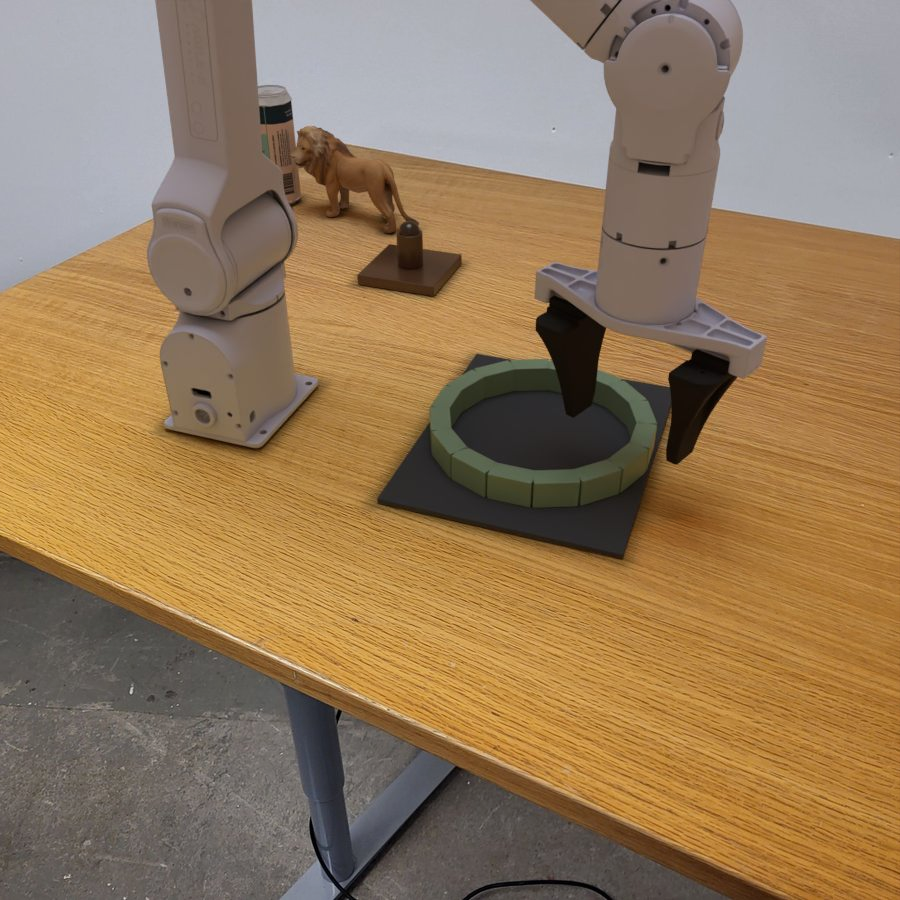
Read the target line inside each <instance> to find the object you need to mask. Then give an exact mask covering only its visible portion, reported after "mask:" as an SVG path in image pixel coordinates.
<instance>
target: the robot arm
mask: <svg viewBox="0 0 900 900" xmlns="http://www.w3.org/2000/svg"><path fill="white" fill-rule="evenodd" d="M529 1H530V3H532V4H533V5H534V6H536V8H537V9H538V10H539V11H541V13H543V14H544V15H545V16H546V17H547V18H548V19H549V20H550V21H551V23H553V24H554V25H555V26H556V27H557V28H558V29H559V30H560V31H561V32H563V33H564V34H565V35H566V36H567V37H568V38H569V39H570V40H571V41H572V42H573V43H574V44H575V45H576V46H577V47H578V48H579V49H580V50H581V51H583V53H585V55H587V56H588V57H589V58H590V59H591V60H595V61H598V62H600V63H601V64H603V81H604V85H605V88H606V92H607V94H608V97H609V99H610V101H611V103H612V104H613V106H614V107H615V115H614V126H613V137H612V141H611V142H610V145H609V153H608V162H607V170H606V171H607V172H606V181H605V191H604V192H605V193H604V203H603V212H602V213H603V214H602V223H601V232H600V241H599V253H598V263H597V270H593V269H588V268H581V267H576V266H572V265H569V264H564V263H561V262H558V261H554V262H551V263H550V264H548V265H545V266H543V267H541V268H540V269H537V270H536V271H535V281H534V282H535V283H534V299H535V300H537V301H539V302H542V303H545V304H548V306H547V307H546V311H545V312H543V313H542V314H539V315H537V317H536V318H535V332H536V333H537V335H538V336H539V337H540V339H541V341H542V342H543V344H544V346H545V348H546V350H547V353H548V354H549V357H550V359H552V361H553V364H554V367H555V369H556V373H557V376H558V380H559V383H560V388H561V392H562V397H563V402H564V407H565V412H566V415H568V416H570V417H573V418H574V417H576V416H577V415H578V414H580V413H581V412H583V411H584V410H586V409H587V408H589V407H590V406H591V405H592V402H593V398H594V394H595V389H596V380H597V371H598V370H599V369H598V368H599V361H600V355H601V351H602V346H603V342H604V338H605V334H606V331H607V330H609V331H611V332H614V333H618V334H619V335H624V336H627V337H628V336H629V337H633V338H637V339H643V340H649V341H654V342H659V343H660V342H661V343H665V344H667V345H670V346H673V347H675V348H678V349H681V350H683V351H686V352H689V353H691V356H690V359H687V360H685V361H684V362H682V363H681V364H679V365H677V366H676V367H675V368H674V369H672V370H671V371H670V372H668V375H667V376H668V377H667V380H668V384H669V385H668V386H669V387H670V391H671V408H670V410H671V414H670V415H671V416H670V426H669V431H668V437H667V443H666V448H665V458H666V459H665V460H666V462H668V463H670V464H672V465H675V466H676V465H679V464H680V463H681V462H682V461H683V460H685V459H686V458H687V457H688V456H690V455H691V454H692V453H693V452H694V449H695V446H696V444H697V442H698V439H699V437H700V435H701V433H702V430H703V428H705V427H704V426H705V425H706V423H707V421H708V419H709V417H710V416H711V414H712V413H713V411H714V409H715V408H716V406H717V405H718V403H719V402H720V401H721V399H722V398H723V396H724V395H725V394H726V392H727V391H728V390H729V388H730V387H731V386H732V385H733V384H734V382H736V380H737V379H738V378H740V379H741V380H745V379H747V377H749V376H751V375H752V374H753V373H754V372H756V371H757V370H758V369H759V368H760V367H762V363H763V359H764V354H765V349H766V344H767V341H768V336H767V334H763V333H761V332H758V331H756V330H753V329H750V328H749V327H747V326H744V325H743V324H741V323H739V322H738V321H736V320H734V319H733V318H731V317H730V316H727V315H726V314H725V313H723V312H721V311H719V310H718V309H716V308H714V307H713V306H712V305H710V304H708V303H707V302H705V301H703V300H702V299H700V298H698V297H697V295H698V289H699V285H700V284H699V283H700V277H701V271H702V265H703V260H704V254H705V248H706V242H707V236H708V232H709V231H708V230H709V225H710V219H711V213H712V207H713V200H714V194H715V189H716V182H717V176H718V170H719V163H720V159H721V147H720V141H719V139H720V137H721V135H722V134H723V130H724V125H725V112H724V107H725V100H726V97H725V94H726V92H727V89H728V88H729V84H730V82H731V81H730V80H731V77H732V76H733V74H734V72H735V70H736V68H737V67H738V64H739V61H740V60H741V59H740V58H741V56H742V50H743V42H744V30H743V24H742V20H741V17H740V14H739V12H738V10H737V8H736V6H735V4H734V2H732V0H529ZM154 2H155V9H156V18H157V25H158V26H157V27H158V35H159V41H160V50H161V57H162V58H161V59H162V66H163V73H164V81H165V89H166V91H165V92H166V97H167V105H168V107H167V108H168V113H169V121H170V128H171V139H172V146H173V155H174V158H173V160H172V163H171V165H170V167H169V169H168V171H167V172H166V174H165V175H164V178H163V180H162V181H161V183H160V185H159V187H158V189H157V191H156V192H155V195H154V197H153V198H152V202H151V209H152V210H151V212H152V219H153V224H152V225H153V227H152V232H151V236H150V239H149V241H148V243H147V249H146V261H147V266H148V271H149V273H150V275H151V278H152V280H153V282H154V283H155V285H156V286H157V288H158V290H159V291H160V292H161V294H162V295H163V296H164V297H165V298H166V299H167V300H168V301H169V302H170V303H171V304H173V305H174V308H175V310H176V311H178V316H177V320H176V321H175V324H174V326H173V327H172V329H171V330H170V332H169V333H168V334H167V335H166V337H164V340H163V341H162V343H161V345H160V349H159V362H160V368H161V373H162V377H163V381H164V386H165V391H166V397H167V400H168V405H169V409H170V415H169V416H168V417H167V418H166V419H165V420H164V421H163V426H164V428H165V429H167V430H170V431H175V432H180V433H183V434H188V435H193V436H197V437H202V438H207V439H212V440H216V441H221V442H225V443H230V444H234V445H239V446H243V447H247V448H251V449H252V448H253V449H259V448H261V447H263V446H264V445H265V444H266V443H267V442H268V441H269V440H270V439H271V438H272V436H273V435H274V434H275V433H276V432H278V430H279V429H280V427H282V425H284V423H286V421H287V420H288V419H289V418H290V417H291V416H292V415H293V414H294V412H295V411H296V410H297V409H298V408H299V407H300V406H301V404H303V402H304V401H305V400H306V399H307V398H308V397H309V396H310V395H311V394H312V393H313V391H314V390H315V389H316V388H317V387H318V386H319V379H318V378H317V377H314V376H309V375H304V374H298V373H296V372H295V371H296V370H295V363H294V356H293V355H294V354H293V346H292V338H291V337H292V336H291V329H290V321H289V312H288V305H287V296H286V287H285V286H286V285H285V280H284V279H286V277H287V272H286V264H285V263H286V262H285V261H287V260H288V259H289V258H290V257H291V256H292V255H293V253H294V252H295V249H296V247H297V244H298V238H299V228H298V222H297V219H296V216H295V213H294V211H293V209H292V207H291V205H289V203H288V201H287V198H286V196H285V192H284V185H283V173H282V171H281V169H280V168H279V167H278V166H277V165H276V164H275V163H273V162H272V161H271V160H270V159H268V158H267V157H266V156H265V155H264V154H263V152H262V142H261V127H260V112H259V97H258V86H259V84H258V83H259V82H258V70H257V68H258V67H257V56H256V55H257V54H256V42H255V41H256V38H255V25H254V9H253V0H154Z"/></svg>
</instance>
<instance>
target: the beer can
mask: <svg viewBox="0 0 900 900" xmlns="http://www.w3.org/2000/svg"><path fill="white" fill-rule="evenodd" d="M258 97H259V112H260V127H261V142H262V152H263V154H264V155H265V156H266V157H267V158H268V159H270V160H271V161H272V162H273V163H275V164H276V165H277V166H278V167H279V168H280V169H281V171H282V173H283V185H284V192H285V196H286V198H287V201H288V203H289V205H290V206H292V205H294V204H296V202H297V201H299V200H300V199H301V198H302V193H301V182H300V173H299V172H300V171H299V168H297V167H296V163H295V161H294V160H292V158H291V156H290V154H291V152H292V151H293V150H294V149H295V148H296V146H297V144H296V143H297V141H296V133H295V124H294V116H293V115H294V114H293V113H294V112H293V104H292V100H293V99H292V96H291V95H290V93H289V91H288V89H287V88H286V86H283V85H279V84H264V85H258Z"/></svg>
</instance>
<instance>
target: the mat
mask: <svg viewBox="0 0 900 900" xmlns="http://www.w3.org/2000/svg"><path fill="white" fill-rule="evenodd" d="M507 360H508V361H509V362H510V360H511V359H510V358H504V357H498V356H493V355H487V354H481V353H476V354H475V355H474V357H473V358H472V359H471V361H470V363H469V364H468V365H467V367H466V368H465V370H464V372H463V373H462V374H461V376H462V375H463V374H465V373H467V372H469V371H470V370H474V369H475V368H479V367H483V366H487V365H491V364H495V363H499V362H503V361H507ZM621 379H622V381H625V382H627V383H628V384H629V385H630V386H631V387H633V388H634V389H635V390H636V391H637V392H639V393H640V394H641V395H642V396H643V397H645V398H646V399H647V401H648V402H649V405H650V407H651V410H652V412H653V414H654V417H655V419H656V422H657V430H656V437H655V444H654V449H653V452H652V456H651V459H650V462H649V465H648V468H647V471H645V474H643V475H642V476H641V477H640V478H638V479H637V480H636V481H635V482H634V483H632V484H631V485H630V486H629V487H627V488H626V489H625V490H624V491H622V492H621V493H620V492H619V494H617V495H614V496H611V497H608V498H605V499H601V500H598V501H595V502H592V503H589V504H586V505H582V506H580V505H579V504H578V506H577V507H547V508H533V507H532V504H531V507H530V508H529V507H524V506H520V505H515V504H510V503H506V502H501V501H497V500H492V499H488V498H487V496H486V497H483V496H481V495H479V494H477V493H475V492H473V491H472V490H470V489H468V488H466V487H464V486H463V485H461V484H459V483H457V482H455V481H453V480H452V478H449V476H448V475H447V474H446V472H445V471H444V470H443V469H442V467H441V466H440V465H439V463H438V462H437V461H436V460H435V458H434V457H433V456H432V453H431V435H430V421H429V422H428V424H427V425H426V426H425V427H424V429H423V430H422V432H421V434H420V435H419V437H418V439H417V440H416V441H415V442H414V444H413V446H412V447H411V448H410V450H409V451H408V452H407V454H406V456H405V457H404V459H403V460H402V462H401V463H400V465H399V466H398V467H397V468H396V470H395V472H394V473H393V474H392V476H391V478H390V479H389V480H388V482H387V484H386V485H385V486H384V488H383V489H382V491H381V493H379V495H378V497H377V498H376V499H377V500H376V503H377V504H380V505H384V506H389V507H392V508H398V509H402V510H404V511H405V510H406V511H411V512H414V513H418V514H424V515H427V516H432V517H436V518H441V519H445V520H449V521H452V522H453V521H454V522H457V523H462V524H467V525H471V526H476V527H480V528H484V529H489V530H492V531H497V532H501V533H506V534H510V535H515V536H519V537H524V538H528V539H532V540H536V541H541V542H545V543H549V544H554V545H559V546H563V547H567V548H572V549H576V550H581V551H584V552H589V553H593V554H597V555H601V556H606V557H609V558H610V557H611V558H615V559H619V560H623V559H624V556H625V553H626V549H627V547H628V543H629V540H630V536H631V533H632V530H633V527H634V524H635V521H636V518H637V514H638V512H639V508H640V505H641V502H642V499H643V496H644V493H645V490H646V487H647V484H648V480H649V476H650V475H651V474H650V473H651V470H652V467H653V464H654V462H655V458H656V456H657V451H658V450H659V449H658V448H659V445H660V442H661V440H662V436H663V432H664V429H665V427H666V423H667V421H668V417H669V413H670V410H671V391H670V386H665V385H658V384H655V383H654V384H653V383H648V382H642V381H637V380H631V379H625V378H621ZM452 430H453V431H454V432H455V433H456V434H457V435H458V437H459V438H460V439H461V440H462V441H463V443H464V444H465V445H466V446H467V447H468V448H470V449H471V450H473V451H475V452H477V453H479V454H481V455H483V456H485V457H487V458H489V459H491V460H493V461H495V462H497V463H501V464H506V465H511V466H515V467H520V468H525V469H530V470H566V469H576V468H580V467H583V466H586V465H590V464H593V463H596V462H600V461H603V460H607V459H609V458H610V457H611V456H613V455H614V454H615V453H616V452H618V451H619V450H620V449H622V448H623V447H624V446H626V445H627V444H628V443H629V442H630V439H631V438H630V435H629V432H628V429H627V426H626V425H625V424H624V423H623V422H622V421H620V420H619V419H618V418H617V417H616V416H615V415H614V414H613V413H612V412H610V411H609V410H608V409H607V408H605V407H603V406H601V405H598V404H596V403H594V402H592V405H591V406H590V407H589V408H587V409H586V410H584V411H583V412H581V413H580V414H578V415H577V416H576V417H574V418H573V417H570V416H568V415H566V412H565V407H564V402H563V397H562V393H558V392H553V391H547V390H545V391H513V392H509V393H505V394H501V395H498V396H494V397H490V398H486V399H483V400H481V401H480V402H478V403H476V404H475V405H473V406H472V407H470V408H468V409H467V410H465V411H463V412H462V413H461V414H460V416H459V417H458V419H457V420H456V422H455V423H454V425H453V427H452Z"/></svg>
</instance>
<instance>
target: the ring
mask: <svg viewBox="0 0 900 900" xmlns="http://www.w3.org/2000/svg"><path fill="white" fill-rule="evenodd" d="M462 374H463V373H462ZM462 374H461V375H460V376H458V377H457V378H455V379H453V380H451V381H449V382H448V383H446V385H444V386H443V387H442V388H441V390H440V392H439V393H438V395H437V396H436V397H435V399H434V400H433V401H432V403H431V404H430V406H429V422H430V435H431V453H432V456H433V457H434V458H435V460H436V461H437V462H438V463H439V465H440V466H441V467H442V469H443V470H444V471H445V472H446V474H447V475H448V476H449V478H452V480H453V481H455V482H457V483H459V484H461V485H463V486H464V487H466V488H468V489H470V490H472V491H473V492H475V493H477V494H479V495H481V496H483V497H486V496H487V498H488V499H492V500H497V501H501V502H506V503H510V504H515V505H520V506H524V507H529V508H530V507H531V504H532V507H533V508H547V507H577V506H578V504H579V505H580V506H582V505H586V504H589V503H592V502H595V501H598V500H601V499H605V498H608V497H611V496H614V495H617V494H619V492H620V493H621V492H622V491H624V490H625V489H626V488H627V487H629V486H630V485H631V484H632V483H634V482H635V481H636V480H637V479H638V478H640V477H641V476H642V475H643V474H645V471H647V468H648V465H649V462H650V459H651V456H652V452H653V449H654V444H655V437H656V430H657V422H656V419H655V417H654V414H653V412H652V410H651V407H650V405H649V402H648V401H647V399H646V398H645V397H643V396H642V395H641V394H640V393H639V392H637V391H636V390H635V389H634V388H633V387H631V386H630V385H629V384H628V383H627V382H625V381H622V379H623V378H621V377H617V376H615V375H613V374H610V373H608V372H605V371H603V370H601V369H598V371H597V380H596V389H595V394H594V398H593V402H594V403H596V404H598V405H601V406H603V407H605V408H607V409H608V410H609V411H610V412H612V413H613V414H614V415H615V416H616V417H617V418H618V419H619V420H620V421H622V422H623V423H624V424H625V425H626V426H627V429H628V432H629V435H630V438H631V439H630V442H629V443H628V444H627V445H626V446H624V447H623V448H622V449H620V450H619V451H618V452H616V453H615V454H614V455H613V456H611V457H610V458H609V459H607V460H603V461H600V462H596V463H593V464H590V465H586V466H583V467H580V468H576V469H566V470H530V469H525V468H520V467H515V466H511V465H506V464H501V463H497V462H495V461H493V460H491V459H489V458H487V457H485V456H483V455H481V454H479V453H477V452H475V451H473V450H471V449H470V448H468V447H467V446H466V445H465V444H464V443H463V441H462V440H461V439H460V438H459V437H458V435H457V434H456V433H455V432H454V431H453V430H452V427H453V425H454V423H455V422H456V420H457V419H458V417H459V416H460V414H461V413H462V412H463V411H465V410H467V409H468V408H470V407H472V406H473V405H475V404H476V403H478V402H480V401H481V400H483V399H486V398H490V397H494V396H498V395H501V394H505V393H509V392H513V391H545V390H547V391H553V392H558V393H562V392H561V388H560V383H559V380H558V376H557V373H556V369H555V367H554V364H553V361H552V359H551V358H550V359H549V358H531V359H529V358H527V359H525V358H523V359H510V362H509V361H508V360H507V361H503V362H499V363H495V364H491V365H487V366H483V367H479V368H475V369H474V370H470V371H469V372H467V373H465V374H463V375H462Z"/></svg>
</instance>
